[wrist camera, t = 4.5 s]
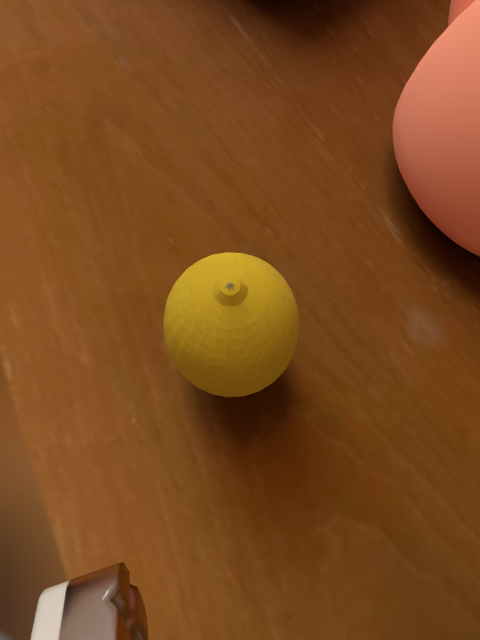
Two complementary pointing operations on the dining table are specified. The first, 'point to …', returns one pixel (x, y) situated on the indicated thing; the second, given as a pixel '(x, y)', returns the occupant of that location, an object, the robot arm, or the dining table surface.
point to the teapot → (445, 129)
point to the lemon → (231, 324)
